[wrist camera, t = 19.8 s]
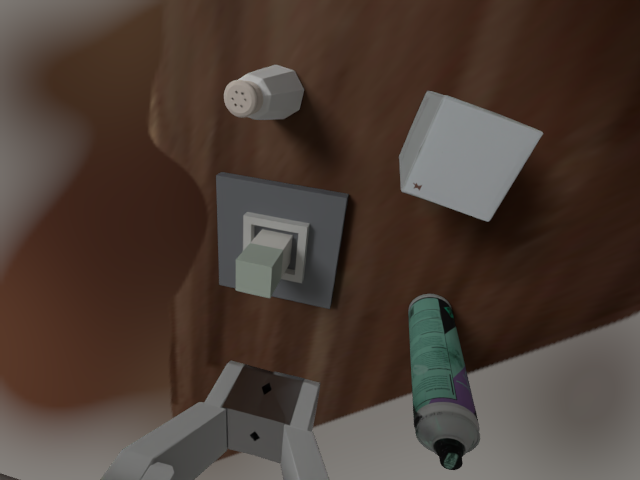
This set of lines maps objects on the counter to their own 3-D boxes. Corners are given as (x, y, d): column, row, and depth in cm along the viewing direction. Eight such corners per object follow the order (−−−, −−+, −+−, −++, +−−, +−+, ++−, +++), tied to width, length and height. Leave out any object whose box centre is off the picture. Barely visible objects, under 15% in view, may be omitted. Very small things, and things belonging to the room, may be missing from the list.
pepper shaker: (285, 129, 38) (248, 148, 29) (247, 96, 38) (196, 104, 28) (314, 88, 36) (284, 93, 26) (274, 52, 35) (228, 44, 26)
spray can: (414, 330, 47) (424, 485, 29) (403, 298, 45) (408, 442, 27) (455, 323, 45) (493, 484, 27) (446, 290, 43) (481, 439, 26)
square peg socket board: (221, 172, 42) (211, 178, 40) (348, 194, 40) (345, 201, 38) (224, 279, 50) (215, 289, 47) (331, 302, 48) (328, 314, 45)
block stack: (262, 229, 43) (235, 259, 36) (292, 235, 42) (271, 267, 35) (261, 256, 45) (235, 290, 38) (290, 262, 44) (270, 298, 37)
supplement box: (461, 181, 37) (488, 227, 26) (397, 157, 37) (396, 192, 26) (498, 113, 34) (548, 132, 22) (427, 87, 34) (442, 93, 23)
